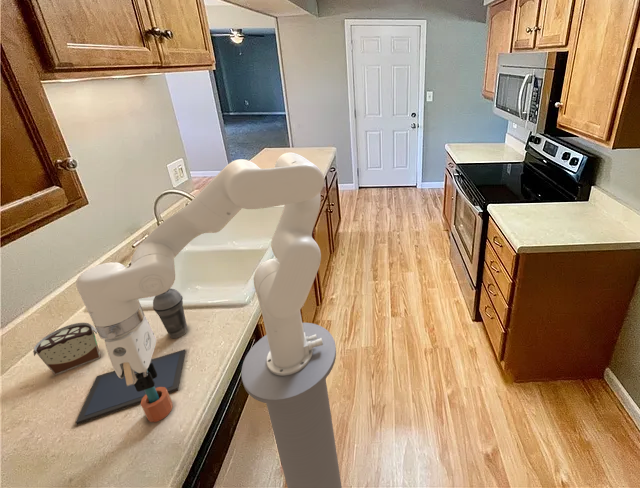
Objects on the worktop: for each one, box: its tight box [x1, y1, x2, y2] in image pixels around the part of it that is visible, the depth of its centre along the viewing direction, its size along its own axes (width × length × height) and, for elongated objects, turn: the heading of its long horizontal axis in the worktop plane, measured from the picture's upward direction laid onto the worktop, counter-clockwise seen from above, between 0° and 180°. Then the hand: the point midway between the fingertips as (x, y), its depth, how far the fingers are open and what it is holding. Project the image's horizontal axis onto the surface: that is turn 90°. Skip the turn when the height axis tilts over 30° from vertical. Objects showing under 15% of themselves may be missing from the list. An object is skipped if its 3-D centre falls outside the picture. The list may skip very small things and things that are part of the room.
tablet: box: [75, 349, 187, 425], centre depth 84 cm, size 20×13×1 cm, turn 114°
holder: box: [140, 387, 174, 423], centre depth 77 cm, size 5×5×5 cm
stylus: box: [144, 370, 159, 403], centre depth 75 cm, size 2×2×13 cm
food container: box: [32, 322, 101, 376], centre depth 90 cm, size 12×6×10 cm, turn 125°
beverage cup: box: [152, 288, 188, 339], centre depth 97 cm, size 7×7×20 cm
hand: (147, 383), depth 74 cm, fingers closed on stylus, 1 cm apart
